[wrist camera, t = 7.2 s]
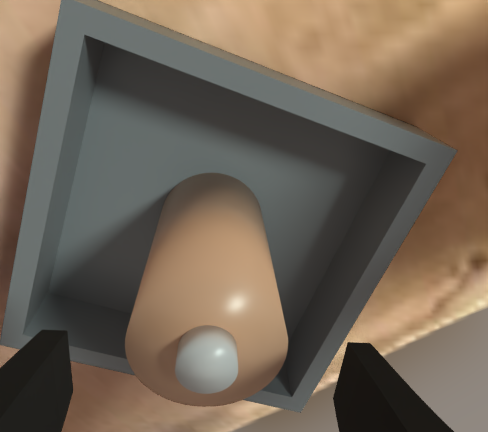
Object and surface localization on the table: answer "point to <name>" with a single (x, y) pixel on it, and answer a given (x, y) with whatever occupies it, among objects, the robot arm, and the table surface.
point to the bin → (197, 162)
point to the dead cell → (208, 298)
